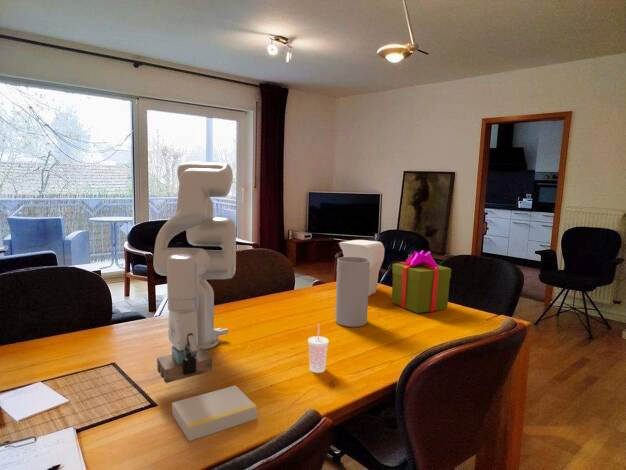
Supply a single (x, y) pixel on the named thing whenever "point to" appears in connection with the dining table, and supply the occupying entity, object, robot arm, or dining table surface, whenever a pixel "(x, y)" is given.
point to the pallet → (175, 371)
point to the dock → (213, 412)
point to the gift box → (420, 284)
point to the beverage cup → (317, 352)
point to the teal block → (179, 354)
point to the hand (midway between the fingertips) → (184, 366)
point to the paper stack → (368, 251)
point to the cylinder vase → (352, 291)
